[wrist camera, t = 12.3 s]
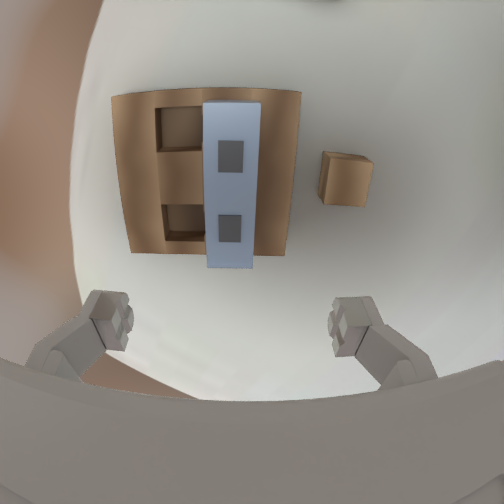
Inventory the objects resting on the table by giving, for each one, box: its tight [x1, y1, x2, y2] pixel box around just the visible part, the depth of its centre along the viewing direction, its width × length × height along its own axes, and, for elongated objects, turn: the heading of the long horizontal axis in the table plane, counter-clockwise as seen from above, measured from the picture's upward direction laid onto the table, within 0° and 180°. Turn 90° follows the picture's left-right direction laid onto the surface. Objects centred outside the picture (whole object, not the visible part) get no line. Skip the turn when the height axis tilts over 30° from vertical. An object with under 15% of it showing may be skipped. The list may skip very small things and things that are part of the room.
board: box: [111, 87, 301, 256], centre depth 26 cm, size 16×16×3 cm
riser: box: [318, 151, 374, 207], centre depth 27 cm, size 4×5×2 cm
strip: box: [203, 100, 261, 269], centre depth 24 cm, size 4×14×5 cm, turn 178°
